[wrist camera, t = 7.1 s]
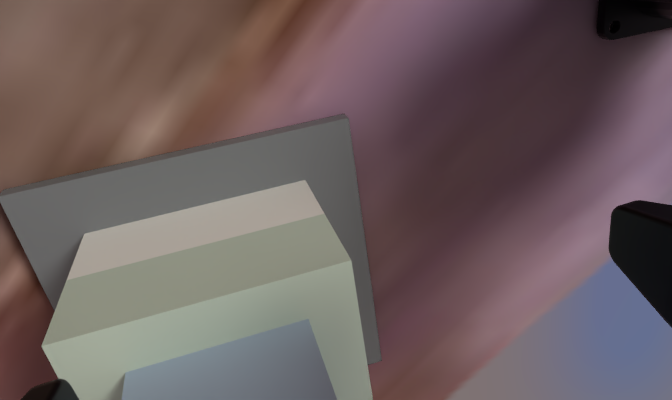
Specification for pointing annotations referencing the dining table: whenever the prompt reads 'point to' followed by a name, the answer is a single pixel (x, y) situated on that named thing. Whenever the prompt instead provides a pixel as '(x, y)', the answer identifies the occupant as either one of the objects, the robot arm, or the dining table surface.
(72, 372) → the pale block on slab
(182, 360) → the top block
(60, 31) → the dining table surface
